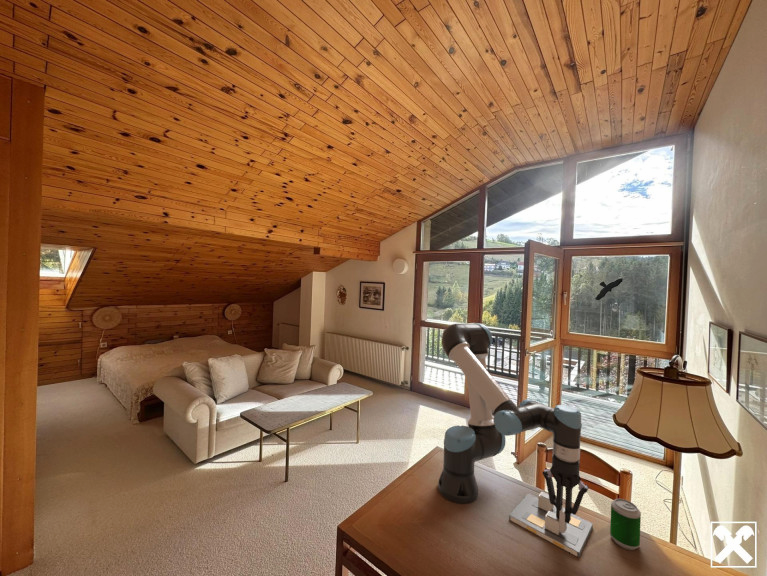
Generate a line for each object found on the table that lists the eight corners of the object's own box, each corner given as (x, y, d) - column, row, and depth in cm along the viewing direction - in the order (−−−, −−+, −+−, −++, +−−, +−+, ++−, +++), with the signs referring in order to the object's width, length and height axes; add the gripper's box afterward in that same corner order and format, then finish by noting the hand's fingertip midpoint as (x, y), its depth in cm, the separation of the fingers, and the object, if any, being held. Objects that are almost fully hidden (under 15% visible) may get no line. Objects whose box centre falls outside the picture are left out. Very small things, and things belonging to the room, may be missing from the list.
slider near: (544, 528, 104) (545, 514, 104) (548, 522, 106) (548, 509, 106) (558, 535, 101) (558, 521, 101) (561, 529, 103) (562, 516, 103)
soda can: (645, 554, 97) (646, 515, 97) (617, 549, 98) (618, 510, 98) (631, 535, 104) (632, 498, 104) (605, 531, 106) (606, 495, 106)
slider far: (538, 506, 114) (538, 494, 114) (541, 502, 116) (541, 490, 116) (550, 512, 111) (550, 500, 111) (553, 508, 113) (553, 495, 113)
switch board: (508, 520, 109) (508, 515, 109) (528, 497, 122) (528, 492, 122) (578, 558, 95) (578, 552, 95) (592, 528, 107) (592, 522, 107)
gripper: (540, 452, 103) (537, 524, 104) (586, 470, 94) (583, 549, 94) (547, 444, 109) (544, 513, 109) (592, 460, 99) (589, 535, 100)
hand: (562, 530), depth 102 cm, fingers closed
